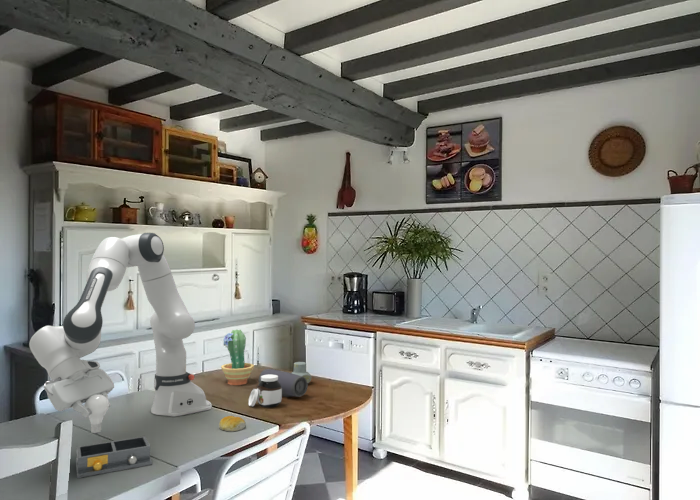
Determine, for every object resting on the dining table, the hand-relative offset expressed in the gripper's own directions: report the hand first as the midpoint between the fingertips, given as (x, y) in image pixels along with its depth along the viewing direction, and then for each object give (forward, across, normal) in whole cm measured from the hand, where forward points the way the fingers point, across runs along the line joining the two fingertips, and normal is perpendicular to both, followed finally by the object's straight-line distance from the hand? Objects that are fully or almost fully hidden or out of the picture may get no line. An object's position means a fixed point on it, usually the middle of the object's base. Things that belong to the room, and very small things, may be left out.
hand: (98, 411), depth 144 cm
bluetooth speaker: (+28, +84, -6) cm, 89 cm away
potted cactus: (+8, +98, +14) cm, 99 cm away
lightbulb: (+4, 0, +5) cm, 7 cm away
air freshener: (+28, +104, -7) cm, 108 cm away
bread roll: (+27, +39, -5) cm, 48 cm away
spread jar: (+27, +67, -5) cm, 72 cm away
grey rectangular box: (+13, +2, +8) cm, 16 cm away
